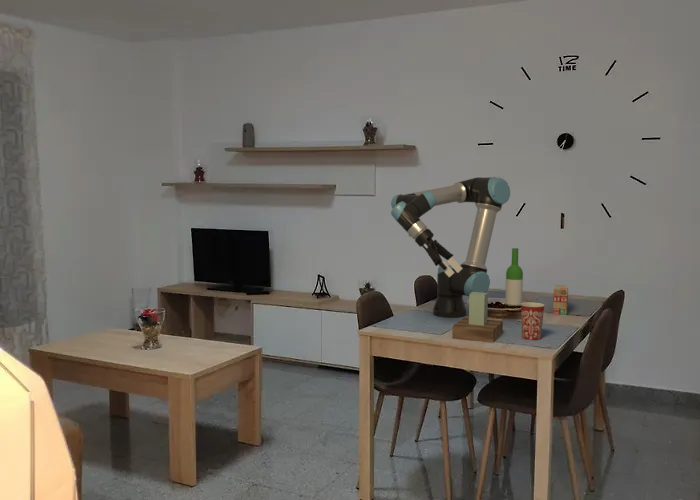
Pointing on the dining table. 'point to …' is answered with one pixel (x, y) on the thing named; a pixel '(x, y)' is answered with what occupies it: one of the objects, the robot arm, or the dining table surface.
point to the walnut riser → (477, 330)
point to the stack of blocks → (560, 300)
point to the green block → (478, 308)
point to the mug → (532, 320)
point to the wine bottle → (514, 282)
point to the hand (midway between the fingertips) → (456, 272)
